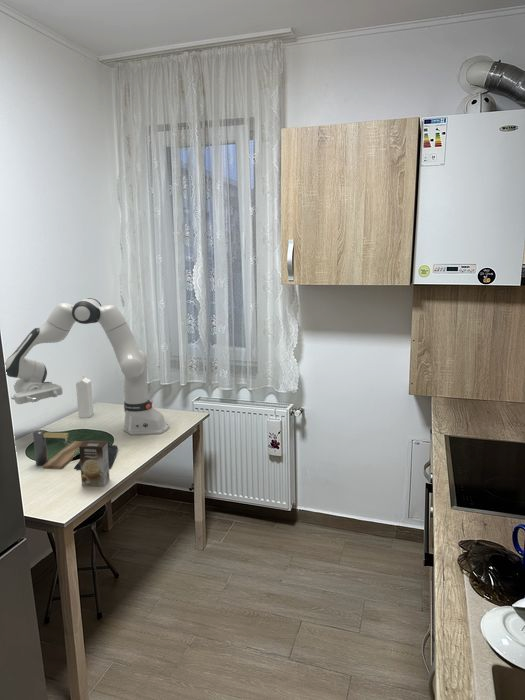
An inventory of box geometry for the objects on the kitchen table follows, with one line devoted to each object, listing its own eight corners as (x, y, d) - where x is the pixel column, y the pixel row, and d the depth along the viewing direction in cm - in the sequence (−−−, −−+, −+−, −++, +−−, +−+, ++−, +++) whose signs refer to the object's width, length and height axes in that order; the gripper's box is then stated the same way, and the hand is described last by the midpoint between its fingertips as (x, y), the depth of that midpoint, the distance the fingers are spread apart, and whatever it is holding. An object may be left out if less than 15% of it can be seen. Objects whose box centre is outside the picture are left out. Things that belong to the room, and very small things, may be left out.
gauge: (72, 462, 208) (70, 430, 205) (67, 467, 204) (64, 435, 201) (39, 460, 210) (36, 429, 207) (33, 465, 205) (30, 433, 202)
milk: (78, 417, 262) (75, 377, 258) (82, 414, 268) (79, 374, 264) (90, 417, 262) (86, 377, 258) (93, 413, 268) (90, 374, 264)
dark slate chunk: (123, 450, 222) (123, 440, 221) (109, 472, 200) (108, 461, 199) (89, 450, 222) (88, 440, 221) (71, 472, 200) (70, 461, 199)
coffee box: (80, 486, 187) (77, 446, 184) (87, 478, 194) (84, 439, 190) (104, 486, 187) (102, 446, 184) (110, 478, 193) (107, 440, 190)
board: (89, 444, 227) (89, 441, 227) (61, 468, 202) (61, 465, 202) (73, 443, 228) (72, 440, 228) (43, 468, 203) (42, 465, 202)
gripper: (8, 390, 221) (19, 396, 212) (54, 380, 235) (66, 386, 226) (10, 403, 223) (21, 410, 213) (55, 393, 237) (68, 399, 227)
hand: (45, 397), depth 219 cm, fingers open, 8 cm apart
